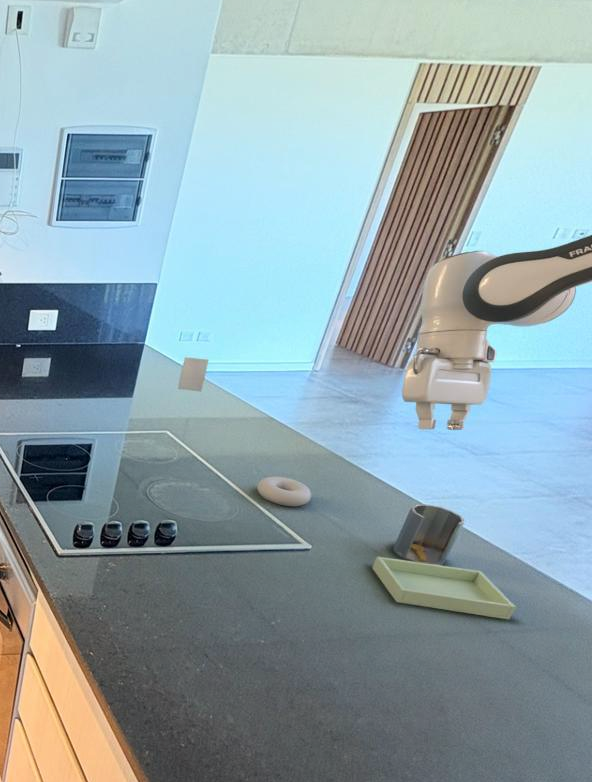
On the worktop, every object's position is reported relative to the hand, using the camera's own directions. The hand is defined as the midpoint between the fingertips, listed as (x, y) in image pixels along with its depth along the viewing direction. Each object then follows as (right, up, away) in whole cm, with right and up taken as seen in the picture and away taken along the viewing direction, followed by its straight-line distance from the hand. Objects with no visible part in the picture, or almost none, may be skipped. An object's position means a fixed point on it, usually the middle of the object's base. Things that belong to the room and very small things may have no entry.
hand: (440, 429), depth 109 cm
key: (+1, -23, +5) cm, 23 cm away
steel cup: (+1, -23, +5) cm, 24 cm away
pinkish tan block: (+3, +20, +92) cm, 94 cm away
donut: (-11, -13, +26) cm, 31 cm away
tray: (-5, -28, -4) cm, 29 cm away
